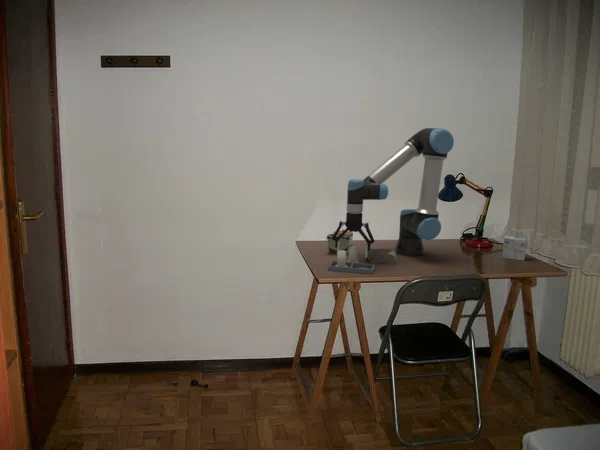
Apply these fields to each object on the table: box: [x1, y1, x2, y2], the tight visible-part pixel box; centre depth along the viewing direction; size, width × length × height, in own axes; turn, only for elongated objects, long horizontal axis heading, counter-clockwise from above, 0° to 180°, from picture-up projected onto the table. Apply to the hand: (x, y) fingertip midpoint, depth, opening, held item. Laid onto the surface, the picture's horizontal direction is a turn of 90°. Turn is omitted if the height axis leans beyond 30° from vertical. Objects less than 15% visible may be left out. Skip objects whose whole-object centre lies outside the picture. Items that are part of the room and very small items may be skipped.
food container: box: [326, 233, 350, 256], centre depth 262 cm, size 12×6×10 cm, turn 84°
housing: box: [327, 250, 376, 275], centre depth 234 cm, size 20×10×8 cm, turn 76°
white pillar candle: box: [346, 245, 360, 263], centre depth 244 cm, size 6×6×8 cm
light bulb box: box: [501, 235, 527, 261], centre depth 258 cm, size 11×7×11 cm, turn 65°
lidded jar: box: [332, 229, 354, 247], centre depth 277 cm, size 11×11×9 cm
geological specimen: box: [367, 248, 399, 265], centre depth 250 cm, size 11×6×15 cm
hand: (352, 255), depth 244 cm, fingers open, 13 cm apart
